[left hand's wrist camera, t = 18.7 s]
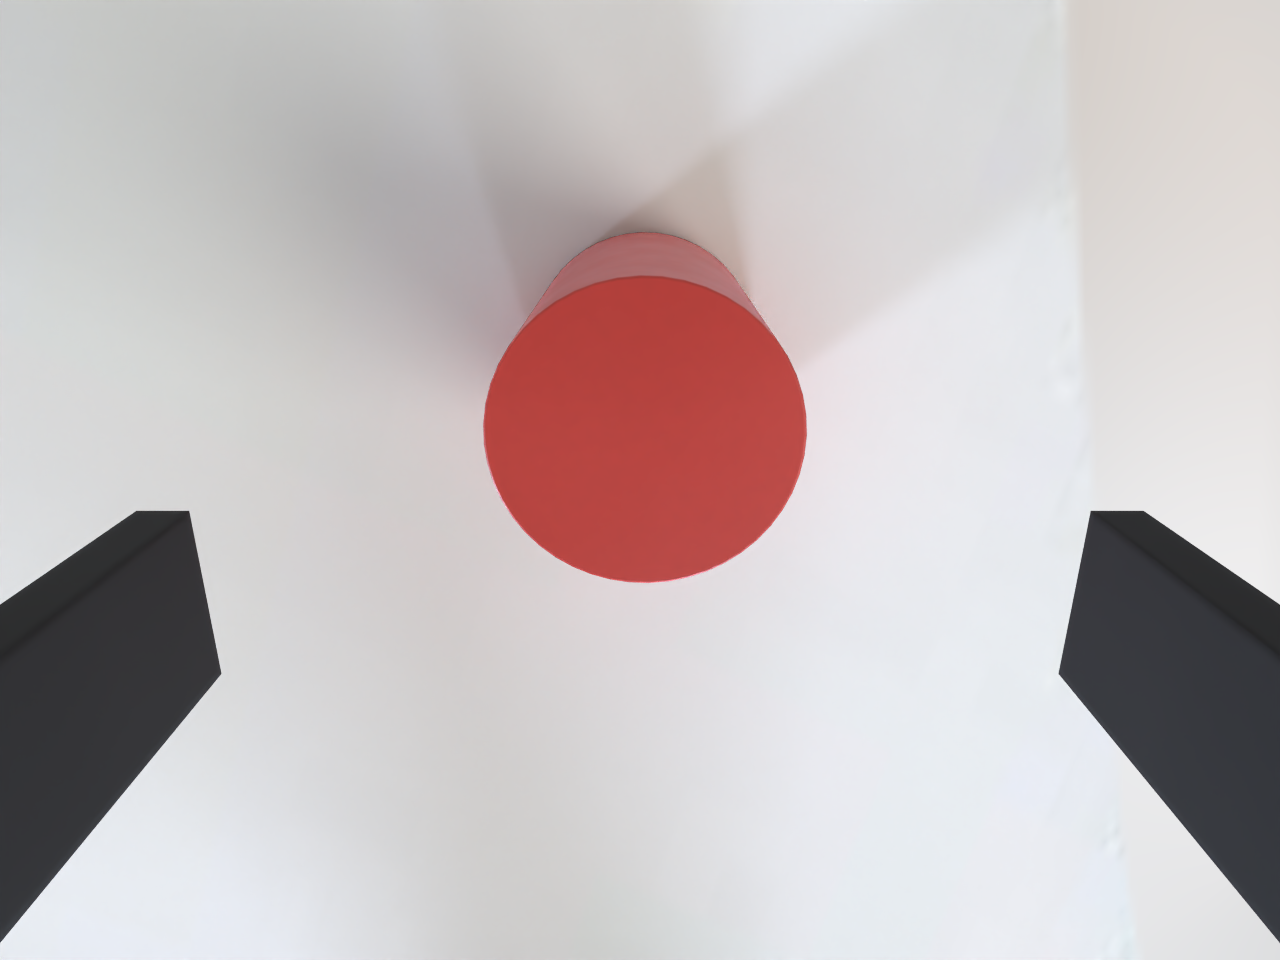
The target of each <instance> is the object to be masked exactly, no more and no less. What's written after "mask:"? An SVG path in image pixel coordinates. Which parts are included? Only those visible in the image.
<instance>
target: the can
mask: <svg viewBox="0 0 1280 960" xmlns="http://www.w3.org/2000/svg"><path fill="white" fill-rule="evenodd" d="M483 428H484V447H485V452H486V458H487V464H488V467H489V470H490V473H491V476H492V480H493V483H494V485H495V487H496V489H497V491H498V493H499V496H500V498H501V500H502V501H503V503H504V505H505V506H506V508H507V509H508V511H509V512H510V514H511V516H512V517H513V518H514V519H515V521H516V522H517V523H518V524H519V525H520V527H521V528H522V529H523V530H524V531H525V532H526V533H527V534H528V535H529V536H530V537H531V538H532V539H533V540H534V541H535V542H536V543H537V544H538V545H539V546H541V547H542V548H544V549H545V550H546V551H548V552H549V553H551V554H552V555H553V556H555V557H556V558H558V559H560V560H562V561H563V562H565V563H567V564H569V565H571V566H573V567H575V568H577V569H580V570H582V571H585V572H587V573H590V574H593V575H596V576H600V577H604V578H607V579H612V580H619V581H625V582H640V583H653V582H665V581H672V580H677V579H682V578H687V577H690V576H694V575H697V574H700V573H703V572H706V571H708V570H710V569H713V568H715V567H717V566H719V565H721V564H723V563H725V562H727V561H728V560H730V559H732V558H733V557H735V556H737V555H738V554H740V553H741V552H743V551H744V550H745V549H746V548H748V547H749V546H750V545H751V544H753V543H754V542H755V541H756V540H757V539H758V538H759V537H760V536H761V535H762V534H763V533H764V532H765V531H766V530H767V529H768V528H769V527H770V526H771V525H772V523H773V522H774V521H775V519H776V518H777V517H778V515H779V514H780V513H781V511H782V510H783V508H784V506H785V505H786V503H787V501H788V499H789V497H790V496H791V494H792V492H793V489H794V487H795V484H796V482H797V479H798V477H799V474H800V471H801V467H802V463H803V459H804V454H805V446H806V437H807V428H806V411H805V405H804V399H803V394H802V391H801V387H800V384H799V381H798V378H797V375H796V373H795V371H794V368H793V366H792V364H791V362H790V360H789V358H788V356H787V354H786V353H785V351H784V350H783V348H782V347H781V345H780V344H779V342H778V341H777V339H776V338H775V336H774V335H773V333H772V332H771V330H770V329H769V328H768V326H767V325H766V323H765V322H764V320H763V319H762V317H761V316H760V314H759V313H758V311H757V310H756V309H755V307H754V306H753V304H752V303H751V301H750V300H749V298H748V297H747V295H746V294H745V292H744V291H743V290H742V288H741V287H740V285H739V284H738V282H737V281H736V279H735V278H734V276H733V275H732V274H731V273H730V272H729V270H728V269H727V268H726V267H725V266H724V265H723V264H722V263H721V262H720V261H719V260H718V259H716V258H715V257H714V256H713V255H712V254H710V253H709V252H707V251H706V250H704V249H703V248H701V247H699V246H697V245H695V244H693V243H691V242H689V241H687V240H684V239H681V238H678V237H675V236H672V235H666V234H660V233H647V232H640V233H629V234H624V235H619V236H615V237H611V238H609V239H606V240H604V241H601V242H598V243H596V244H595V245H593V246H591V247H589V248H587V249H586V250H584V251H583V252H581V253H580V254H579V255H577V256H576V257H575V258H573V259H572V260H571V261H570V262H569V263H568V264H567V265H566V266H565V267H564V268H563V269H562V270H561V271H560V273H559V274H558V275H557V277H556V278H555V279H554V280H553V282H552V283H551V285H550V286H549V288H548V289H547V291H546V292H545V294H544V295H543V296H542V298H541V299H540V301H539V302H538V304H537V305H536V307H535V308H534V310H533V311H532V313H531V314H530V316H529V317H528V318H527V320H526V321H525V323H524V324H523V326H522V327H521V329H520V330H519V332H518V333H517V335H516V336H515V338H514V339H513V341H512V342H511V343H510V345H509V346H508V348H507V350H506V352H505V353H504V355H503V357H502V359H501V360H500V362H499V364H498V366H497V369H496V371H495V374H494V376H493V379H492V381H491V383H490V387H489V391H488V395H487V399H486V403H485V413H484V422H483Z"/></svg>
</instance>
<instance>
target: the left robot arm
mask: <svg viewBox="0 0 1280 960" xmlns="http://www.w3.org/2000/svg"><path fill="white" fill-rule="evenodd" d="M220 675H221V669H220V664H219V659H218V654H217V649H216V644H215V639H214V634H213V629H212V624H211V619H210V614H209V609H208V604H207V599H206V594H205V589H204V584H203V579H202V574H201V569H200V564H199V558H198V553H197V548H196V543H195V538H194V533H193V528H192V523H191V518H190V513H189V511H136V512H134V513H133V514H131V515H130V516H128V517H127V518H126V519H124V520H123V521H121V522H120V523H118V524H117V525H115V526H114V527H112V528H111V529H110V530H108V531H107V532H105V533H104V534H102V535H101V536H99V537H98V538H96V539H95V540H94V541H92V542H91V543H89V544H88V545H86V546H85V547H83V548H82V549H80V550H79V551H78V552H76V553H75V554H73V555H72V556H70V557H69V558H67V559H66V560H64V561H63V562H62V563H60V564H59V565H57V566H56V567H54V568H53V569H51V570H50V571H48V572H47V573H46V574H44V575H43V576H41V577H40V578H38V579H37V580H35V581H34V582H33V583H31V584H30V585H28V586H27V587H25V588H24V589H22V590H21V591H19V592H18V593H17V594H15V595H14V596H12V597H11V598H9V599H8V600H6V601H5V602H3V603H2V604H1V605H0V942H1V941H2V940H3V939H4V937H5V936H6V935H7V934H8V933H9V931H10V930H11V929H12V928H13V926H14V925H15V924H16V923H17V922H18V920H19V919H20V918H21V917H22V916H23V914H24V913H25V912H26V911H27V909H28V908H29V907H30V906H31V905H32V903H33V902H34V901H35V900H36V899H37V897H38V896H39V895H40V894H41V892H42V891H43V890H44V889H45V888H46V886H47V885H48V884H49V883H50V881H51V880H52V879H53V878H54V877H55V875H56V874H57V873H58V872H59V871H60V869H61V868H62V867H63V866H64V864H65V863H66V862H67V861H68V860H69V858H70V857H71V856H72V855H73V854H74V852H75V851H76V850H77V849H78V847H79V846H80V845H81V844H82V843H83V841H84V840H85V839H86V838H87V836H88V835H89V834H90V833H91V832H92V830H93V829H94V828H95V827H96V826H97V824H98V823H99V822H100V821H101V819H102V818H103V817H104V816H105V815H106V813H107V812H108V811H109V810H110V809H111V807H112V806H113V805H114V804H115V802H116V801H117V800H118V799H119V798H120V796H121V795H122V794H123V793H124V792H125V790H126V789H127V788H128V787H129V785H130V784H131V783H132V782H133V781H134V779H135V778H136V777H137V776H138V774H139V773H140V772H141V771H142V770H143V768H144V767H145V766H146V765H147V764H148V762H149V761H150V760H151V759H152V757H153V756H154V755H155V754H156V753H157V751H158V750H159V749H160V748H161V747H162V745H163V744H164V743H165V742H166V740H167V739H168V738H169V737H170V736H171V734H172V733H173V732H174V731H175V729H176V728H177V727H178V726H179V725H180V723H181V722H182V721H183V720H184V719H185V717H186V716H187V715H188V714H189V712H190V711H191V710H192V709H193V708H194V706H195V705H196V704H197V703H198V702H199V700H200V699H201V698H202V697H203V695H204V694H205V693H206V692H207V691H208V689H209V688H210V687H211V686H212V684H213V683H214V682H215V681H216V680H217V678H218V677H219V676H220ZM1059 675H1060V676H1061V677H1062V678H1063V680H1064V681H1065V682H1066V683H1067V684H1068V686H1069V687H1070V688H1071V689H1072V691H1073V692H1074V693H1075V694H1076V695H1077V697H1078V698H1079V699H1080V700H1081V702H1082V703H1083V704H1084V705H1085V706H1086V708H1087V709H1088V710H1089V711H1090V712H1091V714H1092V715H1093V716H1094V717H1095V719H1096V720H1097V721H1098V722H1099V723H1100V725H1101V726H1102V727H1103V728H1104V729H1105V731H1106V732H1107V733H1108V734H1109V736H1110V737H1111V738H1112V739H1113V740H1114V742H1115V743H1116V744H1117V745H1118V747H1119V748H1120V749H1121V750H1122V751H1123V753H1124V754H1125V755H1126V756H1127V757H1128V759H1129V760H1130V761H1131V762H1132V764H1133V765H1134V766H1135V767H1136V768H1137V770H1138V771H1139V772H1140V773H1141V774H1142V776H1143V777H1144V778H1145V779H1146V780H1147V782H1148V783H1149V784H1150V785H1151V787H1152V788H1153V789H1154V790H1155V791H1156V793H1157V794H1158V795H1159V796H1160V798H1161V799H1162V800H1163V801H1164V802H1165V804H1166V805H1167V806H1168V807H1169V809H1170V810H1171V811H1172V812H1173V813H1174V815H1175V816H1176V817H1177V818H1178V819H1179V821H1180V822H1181V823H1182V824H1183V826H1184V827H1185V828H1186V829H1187V830H1188V832H1189V833H1190V834H1191V835H1192V836H1193V838H1194V839H1195V840H1196V841H1197V843H1198V844H1199V845H1200V846H1201V847H1202V849H1203V850H1204V851H1205V852H1206V854H1207V855H1208V856H1209V857H1210V858H1211V860H1212V861H1213V862H1214V863H1215V864H1216V866H1217V867H1218V868H1219V869H1220V871H1221V872H1222V873H1223V874H1224V875H1225V877H1226V878H1227V879H1228V880H1229V881H1230V883H1231V884H1232V885H1233V886H1234V888H1235V889H1236V890H1237V891H1238V892H1239V894H1240V895H1241V896H1242V897H1243V899H1244V900H1245V901H1246V902H1247V903H1248V905H1249V906H1250V907H1251V908H1252V909H1253V911H1254V912H1255V913H1256V914H1257V916H1258V917H1259V918H1260V919H1261V920H1262V922H1263V923H1264V924H1265V925H1266V926H1267V928H1268V929H1269V930H1270V931H1271V933H1272V934H1273V935H1274V936H1275V937H1276V939H1277V940H1278V941H1279V942H1280V605H1279V604H1278V603H1277V602H1275V601H1274V600H1272V599H1271V598H1269V597H1268V596H1266V595H1265V594H1263V593H1262V592H1260V591H1259V590H1258V589H1256V588H1255V587H1253V586H1252V585H1250V584H1249V583H1247V582H1246V581H1245V580H1243V579H1242V578H1240V577H1239V576H1237V575H1236V574H1234V573H1233V572H1231V571H1230V570H1229V569H1227V568H1226V567H1224V566H1223V565H1221V564H1220V563H1218V562H1217V561H1215V560H1214V559H1212V558H1211V557H1210V556H1208V555H1207V554H1205V553H1204V552H1202V551H1201V550H1200V549H1198V548H1197V547H1195V546H1194V545H1192V544H1191V543H1189V542H1188V541H1186V540H1185V539H1184V538H1182V537H1181V536H1179V535H1178V534H1176V533H1175V532H1173V531H1172V530H1170V529H1169V528H1168V527H1166V526H1165V525H1163V524H1162V523H1160V522H1159V521H1157V520H1156V519H1154V518H1153V517H1152V516H1150V515H1149V514H1147V513H1146V512H1144V511H1091V513H1090V518H1089V523H1088V528H1087V533H1086V538H1085V543H1084V548H1083V553H1082V558H1081V563H1080V569H1079V574H1078V579H1077V584H1076V589H1075V594H1074V599H1073V604H1072V609H1071V614H1070V619H1069V624H1068V629H1067V634H1066V639H1065V644H1064V649H1063V654H1062V659H1061V664H1060V669H1059Z"/></svg>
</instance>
